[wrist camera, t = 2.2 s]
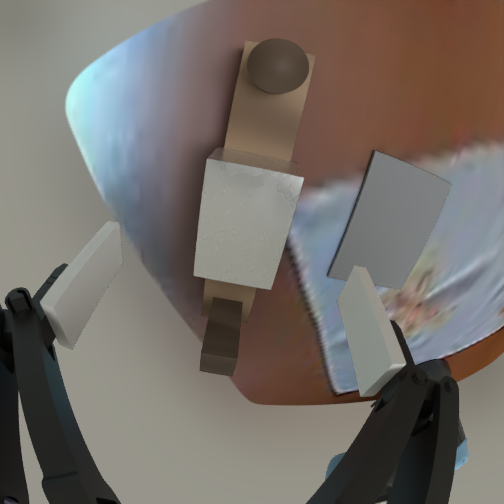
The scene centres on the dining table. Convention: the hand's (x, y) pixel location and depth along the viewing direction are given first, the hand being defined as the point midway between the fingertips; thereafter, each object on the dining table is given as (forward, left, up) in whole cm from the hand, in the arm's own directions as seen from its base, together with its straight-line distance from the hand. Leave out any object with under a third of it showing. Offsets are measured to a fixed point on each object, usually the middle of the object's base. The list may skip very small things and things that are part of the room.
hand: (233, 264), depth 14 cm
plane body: (0, 0, -11) cm, 11 cm away
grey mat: (0, -15, -11) cm, 19 cm away
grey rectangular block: (0, 0, -8) cm, 8 cm away
